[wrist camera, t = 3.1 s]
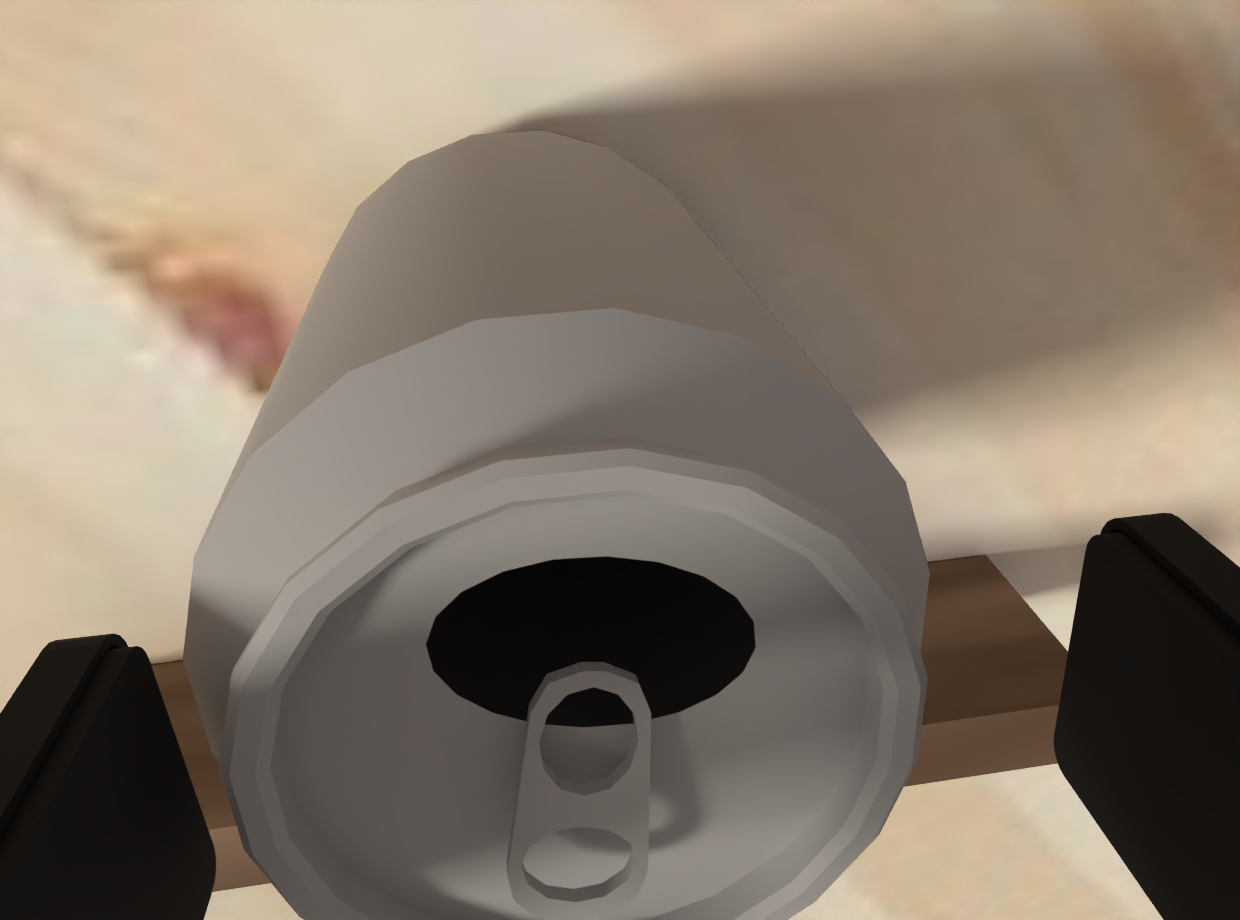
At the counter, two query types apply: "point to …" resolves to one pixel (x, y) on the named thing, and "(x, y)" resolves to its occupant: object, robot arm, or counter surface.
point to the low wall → (952, 718)
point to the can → (553, 571)
